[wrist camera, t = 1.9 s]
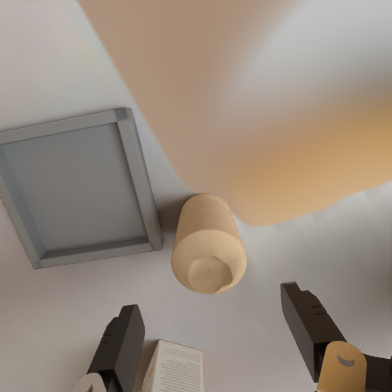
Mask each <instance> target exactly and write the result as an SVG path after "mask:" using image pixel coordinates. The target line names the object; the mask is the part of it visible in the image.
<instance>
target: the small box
mask: <svg viewBox="0 0 392 392" xmlns="http://www.w3.org/2000/svg"><path fill="white" fill-rule="evenodd" d="M141 392H204V366H203V352H202V350H198V349H194V348H190V347H186V346H182V345H178V344H175V343H171V342H167V341H163V340H159V341H158V344H157V346H156V349H155V351H154V354H153V356H152V359H151V362H150V364H149V367H148V369H147V372H146V375H145V378H144V381H143V386H142V391H141Z"/></svg>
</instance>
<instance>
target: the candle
mask: <svg viewBox="0 0 392 392" xmlns="http://www.w3.org/2000/svg"><path fill="white" fill-rule="evenodd" d="M171 263H172V270H173V272H174V275H175V276H176V278H177V279H178V281H179V282H180V283H181V284H182V285H183V286H185V287H186V288H188V289H190V290H192V291H194V292H197V293H202V294H216V293H221V292H223V291H226V290H228V289H230V288H232V287H233V286H234V285H236V284H237V283H238V282H239V281H240V279H241V278H242V277H243V275H244V273H245V270H246V266H247V256H246V252H245V249H244V246H243V244H242V241H241V238H240V235H239V232H238V229H237V227H236V224H235V221H234V218H233V215H232V212H231V210H230V208H229V206H228V204H227V203H226V202H225V201H224V200H223V199H222V198H220V197H219V196H217V195H214V194H210V193H202V194H198V195H195V196H193V197H191V198H190V199H189V200H188V201H187V202H186V203H185V204H184V206H183V207H182V210H181V213H180V217H179V222H178V228H177V233H176V238H175V243H174V248H173V253H172V261H171Z"/></svg>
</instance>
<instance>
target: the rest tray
mask: <svg viewBox="0 0 392 392" xmlns="http://www.w3.org/2000/svg"><path fill="white" fill-rule="evenodd" d="M0 196H1V199H2V201H3V203H4V205H5V207H6V209H7V212H8V214H9V216H10V218H11V220H12V222H13V225H14V227H15V229H16V231H17V233H18V235H19V238H20V240H21V242H22V244H23V246H24V248H25V251H26V253H27V255H28V257H29V259H30V261H31V263H32V266H33V268H34V269H40V268H47V267H53V266H60V265H66V264H73V263H79V262H86V261H93V260H99V259H106V258H112V257H119V256H125V255H132V254H138V253H145V252H151V251H158V250H162V247H163V243H164V237H163V233H162V229H161V225H160V221H159V217H158V213H157V209H156V205H155V201H154V197H153V193H152V189H151V185H150V181H149V177H148V173H147V168H146V164H145V160H144V156H143V152H142V148H141V144H140V140H139V136H138V132H137V128H136V124H135V120H134V116H133V112H132V108H126V107H124V108H119V109H114V110H109V111H104V112H99V113H93V114H88V115H83V116H78V117H73V118H68V119H63V120H58V121H53V122H47V123H42V124H37V125H32V126H27V127H22V128H17V129H12V130H7V131H1V132H0Z"/></svg>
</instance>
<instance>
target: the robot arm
mask: <svg viewBox="0 0 392 392" xmlns="http://www.w3.org/2000/svg"><path fill="white" fill-rule="evenodd" d="M280 287H281V301H282V309H283V313H284V316H285V319H286V321H287V323H288V326H289V328H290V330H291V332H292V334H293V337H294V339H295V341H296V343H297V346H298V348H299V350H300V352H301V354H302V357H303V359H304V361H305V363H306V366H307V368H308V370H309V372H310V375H311V377H312V379H313V381H314V383H317V382H318V386H317V390H316V392H392V356H391V359H385V358H380V357H374V356H369V355H366V354H364V353H362V352H361V351H360V350H359V349H358V348H356V347H355V346H353V345H352V344H349V343H348V342H347V341H346V340H345V338H344V337H343V335H342V334H341V332H340V331H339V329H338V328H337V326H336V325H335V323H334V322H333V320H332V319H331V317H330V316H329V315H328V314H327V312H326V310H325V309H324V307H323V306H322V304H321V303H320V301H319V300H318V298H317V297H316V296H315V295H313V294H312V293H311V292H309V291H308V290H306V291H301V290H300V289H299V287H298V285H297V284H296V282H289V283H282V284H281V285H280ZM144 336H145V326H144V323H143V319H142V316H141V313H140V310H139V307H138V305H137V304H134V305H127V306H123V307H122V309H121V312H120V314H119V317H114V318H113V319H112V321H111V322H110V323H109V324H108V325H107V327H106V330H105V332H104V334H103V337H102V339H101V341H100V345H99V346H98V349H97V351H96V353H95V356H94V358H93V360H92V363H91V365H90V367H89V370H88V372H87V374H86V375H85V376H83V377H82V378H80V379H79V380H78V381H77V382H76V383H75V384H74V386H73V387H72V389H71V390H70V392H132V388H133V384H134V380H135V375H136V371H137V367H138V363H139V358H140V354H141V350H142V345H143V341H144ZM314 392H315V391H314Z"/></svg>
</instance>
